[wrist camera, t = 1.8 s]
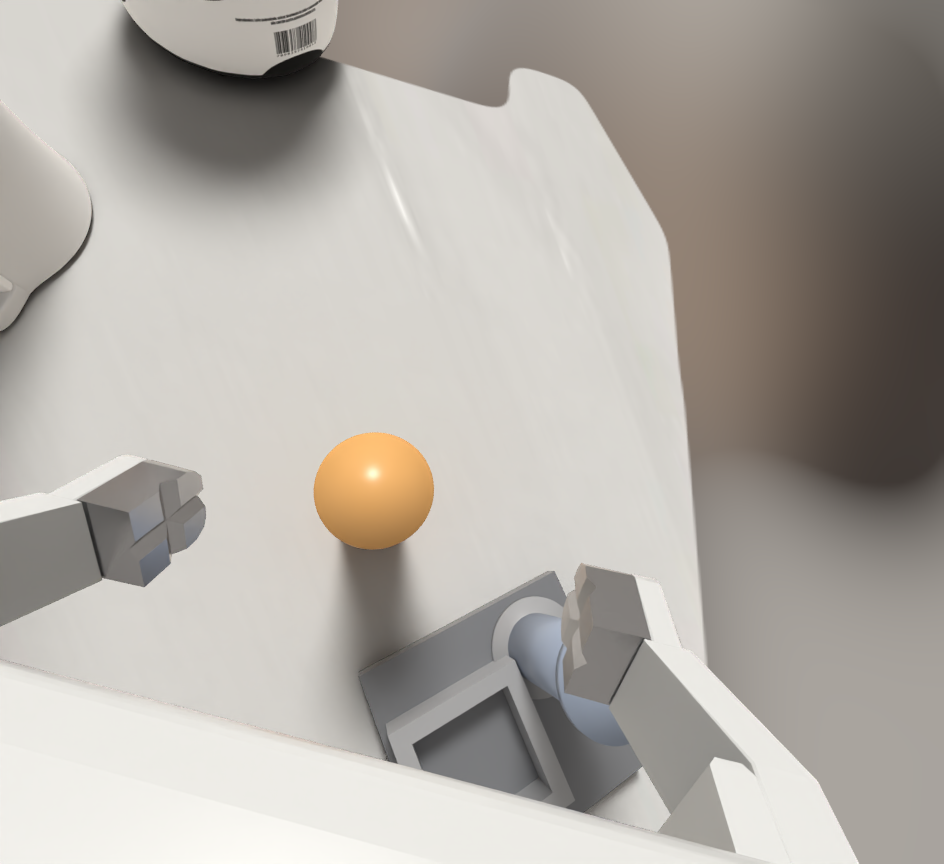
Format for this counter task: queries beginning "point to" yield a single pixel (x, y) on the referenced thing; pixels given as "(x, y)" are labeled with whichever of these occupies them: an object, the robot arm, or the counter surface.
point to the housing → (500, 705)
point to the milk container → (239, 32)
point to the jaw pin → (373, 491)
